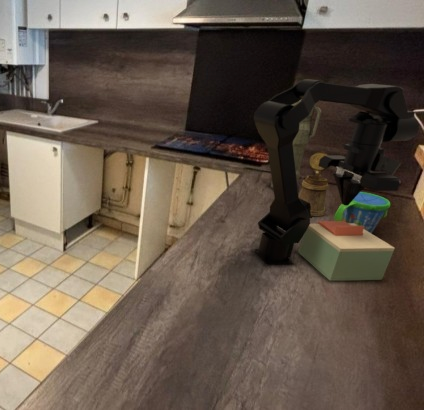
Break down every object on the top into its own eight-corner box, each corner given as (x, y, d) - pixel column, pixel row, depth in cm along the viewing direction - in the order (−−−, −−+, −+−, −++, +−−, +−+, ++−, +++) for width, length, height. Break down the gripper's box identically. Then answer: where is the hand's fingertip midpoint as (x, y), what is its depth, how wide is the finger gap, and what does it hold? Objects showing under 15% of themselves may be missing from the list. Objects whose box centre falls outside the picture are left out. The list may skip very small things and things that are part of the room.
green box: (329, 280, 81) (339, 251, 78) (298, 252, 92) (305, 226, 89) (382, 279, 81) (393, 251, 78) (344, 252, 92) (353, 225, 89)
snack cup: (344, 240, 98) (355, 206, 94) (317, 223, 108) (327, 192, 104) (396, 237, 100) (409, 204, 96) (365, 221, 109) (376, 190, 105)
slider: (335, 235, 83) (337, 227, 82) (317, 223, 89) (320, 215, 88) (362, 235, 83) (365, 226, 82) (343, 223, 89) (346, 215, 88)
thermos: (299, 194, 129) (326, 94, 116) (264, 188, 135) (285, 91, 121) (301, 187, 136) (326, 91, 122) (267, 181, 142) (288, 89, 128)
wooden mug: (323, 204, 122) (339, 152, 114) (324, 218, 111) (341, 162, 104) (294, 198, 126) (307, 148, 119) (292, 212, 115) (306, 158, 108)
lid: (339, 251, 78) (340, 248, 78) (305, 226, 89) (306, 223, 89) (393, 251, 78) (395, 247, 78) (353, 225, 89) (354, 223, 89)
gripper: (437, 153, 74) (409, 221, 80) (368, 133, 91) (349, 191, 97) (385, 153, 73) (361, 221, 79) (325, 133, 90) (309, 191, 96)
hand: (345, 204), depth 88 cm, fingers closed
